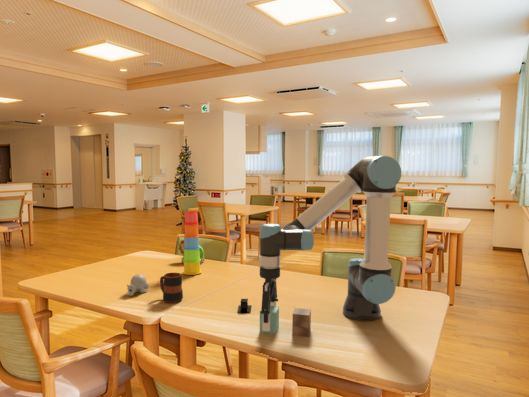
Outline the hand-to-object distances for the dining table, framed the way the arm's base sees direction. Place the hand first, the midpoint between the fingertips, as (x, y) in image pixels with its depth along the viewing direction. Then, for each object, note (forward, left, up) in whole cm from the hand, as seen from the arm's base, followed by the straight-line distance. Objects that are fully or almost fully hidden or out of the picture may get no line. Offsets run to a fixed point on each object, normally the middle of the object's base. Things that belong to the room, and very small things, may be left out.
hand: (269, 324), depth 148 cm
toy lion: (+67, -88, -2) cm, 111 cm away
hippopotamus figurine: (+69, -26, -2) cm, 74 cm away
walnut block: (-12, 0, -2) cm, 12 cm away
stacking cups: (+57, -65, -2) cm, 86 cm away
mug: (+50, -22, -2) cm, 55 cm away
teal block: (0, 0, -2) cm, 2 cm away
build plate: (+14, -18, -3) cm, 23 cm away
